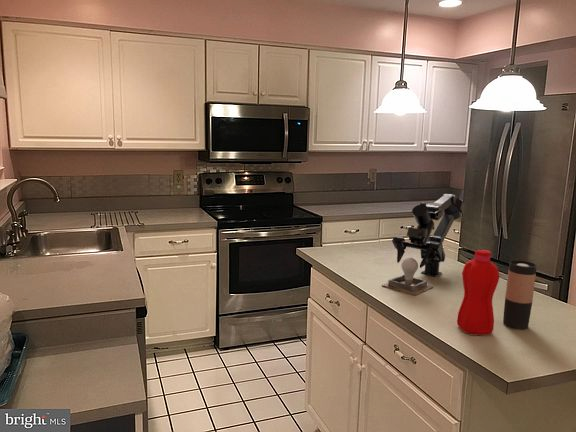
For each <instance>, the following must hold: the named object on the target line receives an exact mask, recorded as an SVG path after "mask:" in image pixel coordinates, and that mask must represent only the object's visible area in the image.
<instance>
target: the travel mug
mask: <svg viewBox="0 0 576 432" xmlns="http://www.w3.org/2000/svg"><path fill="white" fill-rule="evenodd" d="M508 266H509V267H508V273H507V281H506V290H505V295H504V308H503V320H502V321H503V322H502V324H503V325H504V326H505V327H507V328H509V329H513V330H517V331H524V330H527V329H528V328H529V324H530V317H531V311H532V306H533V301H534V299H533V298H534V290H535V283H536V275H537V267H538V266H537V264H536V263H534V262H530V261H528V260H527V261H526V260H520V259H517V260H516V259H514V260H511V261H509V264H508Z"/></svg>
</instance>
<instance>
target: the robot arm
mask: <svg viewBox="0 0 576 432" xmlns="http://www.w3.org/2000/svg"><path fill="white" fill-rule="evenodd" d="M465 208H466V206H465V204H464V201H463V200H461V199H460V198H458V197H457V195H456V194H453V193H443V195H442V196H441V197H440V198H439V199H437V200H436V201H434V202H431V203H430V202H429V203H426V202H420V203H419V204H418V205H416V206H413V208H412V210H411V212H412V213H411V214H412V215H413V218H414V220H415V223H416V224H417V226H416V227H408V228H407V232H406V236H407V237H408V239H409V240H408V241H407V240H406V239H405V237H402V236H393V238H392V240H391V243H392V244H393V246H394V248H395V249H396V251H397V253H396V255H397V256H396V262H397V264H399V263H400V262H401V260H402V258H403V256H404V255H405V253H406V249H407V248H411V249H416V250H420V258H421V259H422V260H421V262H420V263H419V264H420V265H419V268H420V269H422V268H423V267H424V270H422V271H420V273H421V274H424V275H426V276H430V277H431V276H432V277H437V276H440V275H442V274H443V272H441V271H440V263H442V262H443V263H445V260H446V252H445V251H444V245H443V243H444V240H445V239H446V237H447V235H448V233H449V231H450V230H451V227H452V225H453V223H454V221H456V220H457V219H460V217H462V215H463V214H464V212H465V211H466V209H465ZM439 220H440V221H439ZM434 221H439V223H438V225H437V226H436V228H435V223H434ZM433 230H434V232H433V234H432V236H431V233H432V231H433ZM409 241H410V242H409Z"/></svg>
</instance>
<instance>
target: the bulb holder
mask: <svg viewBox="0 0 576 432" xmlns="http://www.w3.org/2000/svg"><path fill="white" fill-rule="evenodd" d="M381 287H383V288H387V289H389V290H393V291H397V292H400V293H403V294H407V295H410V296H414V297H415V296H418V295H420V294H423V293H424V292H426V291H428V290H431V289H432V288H434V286H433V285H431V284H428V280H425V279H421V278H417V277H414V276H413V280H412V285H407V284H405V275H404V274H401V275H398V276H395V277H393V278H390V279H389V280H388V281H387V282H386V283H383V284H382V285H381Z"/></svg>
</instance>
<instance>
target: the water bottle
mask: <svg viewBox="0 0 576 432" xmlns="http://www.w3.org/2000/svg"><path fill="white" fill-rule="evenodd" d="M491 254H492V252H491V251H490V250H487V249H478V250H475V251H474V258H473V259H470V260H468V261H467V262H465V264H464V266H463V270H462V272H461V277H462V283H463V284H462V285H463V291H464V292H463V298H462V301H461V303H460V307H459V309H458V313H457V319H456V324H457V327H458V328H460V329H461V330H462V331H463V332H464V333H466V334H467V335H471V336H488V335H492V333H493V332H494V327H495V326H494V325H495V324H494V323H495V315H494V307H493V297H494V294H495V292H496V289H497V286H498V283H499V282H500V273H499V269H498V266H497V265H496V264H495V263H493V262H492V261H491Z"/></svg>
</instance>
